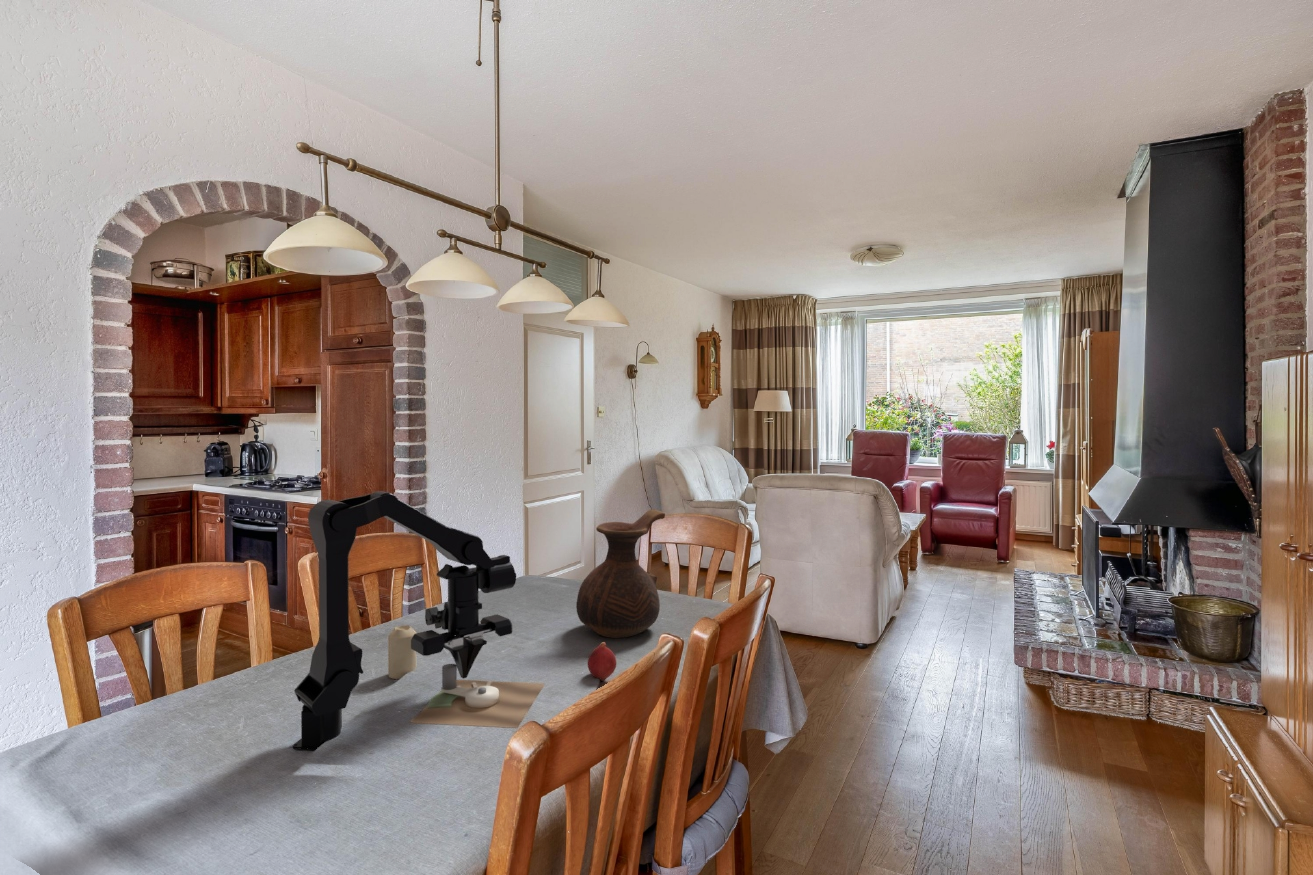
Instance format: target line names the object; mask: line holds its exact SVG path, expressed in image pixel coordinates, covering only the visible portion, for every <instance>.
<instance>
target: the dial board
mask: <svg viewBox="0 0 1313 875" xmlns="http://www.w3.org/2000/svg"><path fill="white" fill-rule="evenodd" d="M545 685H546V683H542V682H540V683H539V682H520V681H519V682H517V681H500V680H499V681H495V680H471V679H457V687H462V688H467V689H471V688H474V687H479V686H493V687H496V688H497V689H498V690H499V701H498V702H497V703H496V704H494V705H492V706H489V707H484V708H473V707H469V706H467V705H466V703H465V697H464V696H459V695H454V694H449V693H444V692H441V690H440V691H439V692H438V693H436V694H435V695H434V696H433V697H432V698H431V699H429V702H428V703H427V704H426V705H425V706H424V707H423V708H422V709H421V710H420V711H419V713H418V714H416V716H414V718H412V720H411V721H409V723H410V724H422V725H423V724H425V725H442V726H443V725H444V726H445V725H449V726H464V727H465V726H468V727H487V728H488V727H489V728H506V729H507V728H511V729H519V727H520V725H521V723H522V722H523V720H524V719H525V717H526V715H527V713H528V712H529V711H530V709H531V707H532V706H533V704H534V702H535V701H536V699H537V698H538V696H539V694H540V693H541V691H542V690H543V688H544V686H545Z"/></svg>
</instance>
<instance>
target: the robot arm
mask: <svg viewBox="0 0 1313 875" xmlns="http://www.w3.org/2000/svg"><path fill="white" fill-rule="evenodd" d="M381 518H385V519H387V520H389V521H390V522H393V523H394V524H396V525H398V526H400V527H401V528H403V529H405V530H406V531H407V530H408V531H409V532H411V533H413V534H415V535H417V536H419V537H420V538H422V539H424V540H425V541H427V542H428V543H430V544H431V545H432V546H433V547H434V548H435V550H436V551H437V552H438V553H439V554H441V555H442V556H443V557H445V558H446V559H447V560H450V561H452V562H455V563H459V564H462V565H457V566H453V565H451V564H449V563H445V564H444V566H443V567H442V568H441V569H440V570H438V572H437V573H436V576H437V577H438V578H441V579H443V580H447V601H445V602H444V605H443V609H442V610H439V608H438V607H437V606H434V607H429V608H426V609H425V612H424V620H425V624H426V626H431V625H434V627H435V628H434V629H440V628H441V629H442V630H444V631H446V630H447V631H446V632H443V633H439V632H436V631H435V630H432V629H430V630H426V631H425V630H424V631H422V632H416V634H414V636H413V637H412V639H411V649H413V650H414V651H416V653H418V654H419V655H422V656H423V657H424V656H425V657H428V656H431V655H435V654H439V653H441V652H443V650H444V649H445V650H448V651H449V653H450V654H451V656H452V658H453V661H454V664H456V665H457V671H458V674H459V676H460V678H461V679H462V680H465V679H466V678H468V675H469V673H470V672H471V669H472V667H473V664H474V663H475V660H476V659H477V656H478V655H479V653H480V652H481V650H482V648H483V647H484V646H485V645H487V643H488V641H487V640H485V639H484V634H487V633H491V632H495V633H494V634H496V635H497V636H498V637H503V636H507V635H508V636H509V635H511V634H512V633H513V622H512V621H511V619H510V618H508V617H506V616H502V615H500V614H494V615H490V616H489V615H488V616H485V617H482V618H481V620H480V621H479V616H480V615H479V614H480V613H479V612H480V611H479V610H483V603H481V602H479V598H480V597H479V595H480V593H479V590H480V591H481V592H482V593H484V594H489V593H494V592H498V591H504V590H509V589H512V588H513V587H514V586H515V585H516V582H517V573H516V571H515V568H514V565H513V563H512V562H511V556H509V555H507V554H500V555H497V556H493V557H490V556H489V554H488V553H487V552H486V550H485V549H484V542H483V540H482V539H481V538H480V536H478V535H476V534H473V533H469V532H467V531H463V530H460V529H456V528H454V527H449V526H446V525H445V524H443V523H442V522H440V521H438V520H436V519H435V518H433V517H430V516H429V515H427V514H426V513H424V512H422V511H420V510H419V509H417V508H415V507H413V506H412V505H410V504H408V503H406V502H405V501H403V500H401V499H400V498H398V497H397V496H396V495H395V494H393V493H391V492H387V491H381V490H377V491H374V492H372V493H368V494H364V495H360V496H359V495H358V496H354V497H349V498H345V499H341V500H337V501H336V500H332V499H323V500H320V501H318V502H316V503H315V504H314V505H313V506H312V508H310V509H309V511H308V515H307V522H308V526H309V531H310V536H311V539H312V542H313V544H314V547H315V550H316V553H317V556H318V631H319V632H318V641H317V642H316V645H315V648H314V650H313V652H312V656H311V661H310V665H309V666H310V667H309V673H307V675H306V676H305V677H304V678H303V679H302V681H301V682H300V683H299V684H298V685H297V686H296V687H295V688H294V690H293V691H294V694H295V696H296V698H297V701H298V702H300V703H301V704H303V705H302V708H301V709H302V710H301V712H300V715H301V717H300V718H301V719H300V722H301V723H300V724H301V726H300V728H301V729H300V730H301V737H300V739H298V740H297V741H296V742H294V743H293V744H292V746H291V747H292V750H303V751H304V750H307V751H316V750H318V749H319V748H320V747H321V746H322V745H324V744H325V743H326V742H328V741H331V740H332V739H335V738H337V737H338V736H339V735H340V734H341V733H342V732H341V731H342V726H343V724H342V723H343V719H342V718H343V716H342V715H343V714H342V713H343V709H346V708H347V705H348V702H349V700H350V697H351V693H352V692H353V690H354V689H355V688H356V687H357V685H358V683H359V681H360V675H361V674H364V670H363V669H362V658H363V649H362V648H360V647H359V646H357V645H356V644H354V643H352V642H351V640H350V625H349V624H350V618H349V617H350V613H349V612H350V611H349V608H350V607H349V606H350V605H349V603H350V601H349V599H350V598H349V597H350V596H349V594H350V591H349V589H350V588H349V585H350V584H349V581H350V580H349V577H350V576H349V555H350V552H351V550H352V548H353V545H354V543H355V541H356V538H357V531H358V528H361V527H364V526H367V525H369V524H371V523H373V522H375V521H377V520H379V519H381ZM471 565H472V566H475V567H471V568H470V567H468V566H471ZM479 622H480V623H479Z"/></svg>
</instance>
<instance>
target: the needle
mask: <svg viewBox="0 0 1313 875" xmlns="http://www.w3.org/2000/svg"><path fill="white" fill-rule="evenodd" d="M441 669H442V670H441V674H442V676H441V680H442V681H441V683H442V685H441V687H440V691H441V692H444V693H449V694H454V695H459V696H464V697H465V703H466V705H467V706H469V707H473V708H484V707H489V706H492V705H494V704H496V703H497V702H498V701H499V690H498V689H497V688H496V687H493V686H479V687H474V688H471V689H467V688H462V687H457V680H458V679H457V676H458V675H457V671H458V668H457V665H456V663H447V664H443V665H442V666H441Z"/></svg>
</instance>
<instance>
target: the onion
mask: <svg viewBox="0 0 1313 875" xmlns="http://www.w3.org/2000/svg"><path fill="white" fill-rule="evenodd" d="M616 668H617V658H616V655H615V654H614V652H613V651H612V650H611V649H610V648H609V647H607V643H606V642H605V641H603V642H601V643H600V644H599V645H598V646H597V647H595V648H594V649H593V650H592V652H591V653H590V654H589V656H588V659H587V669H588V671H589V673H590V674H591V675H592V676H593V677H594V678H597V679H599V681H601V682H604V681H606V680H607V679H608V678H609V677H611V676H612V674H614V672H615V670H616Z"/></svg>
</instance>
